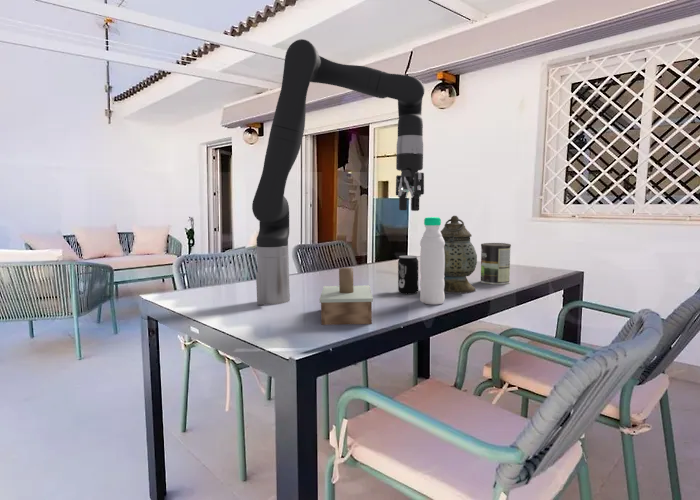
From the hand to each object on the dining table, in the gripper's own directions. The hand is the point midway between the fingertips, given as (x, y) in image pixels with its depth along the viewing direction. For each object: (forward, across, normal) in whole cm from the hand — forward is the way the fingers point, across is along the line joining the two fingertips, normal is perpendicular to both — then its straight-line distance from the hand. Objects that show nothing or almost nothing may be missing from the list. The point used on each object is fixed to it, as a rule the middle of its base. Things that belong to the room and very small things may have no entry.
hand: (408, 210), depth 123 cm
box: (+27, +10, -22) cm, 36 cm away
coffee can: (+27, -19, +44) cm, 55 cm away
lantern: (+27, -12, +23) cm, 37 cm away
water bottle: (+27, +2, +7) cm, 28 cm away
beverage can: (+27, -14, +6) cm, 31 cm away
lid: (+22, +11, -22) cm, 33 cm away
